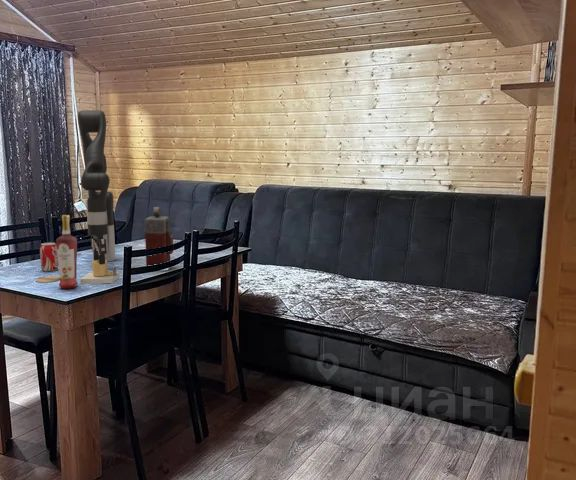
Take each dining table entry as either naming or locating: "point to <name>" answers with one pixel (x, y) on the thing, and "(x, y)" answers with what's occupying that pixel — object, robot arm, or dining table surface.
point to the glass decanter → (157, 237)
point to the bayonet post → (100, 277)
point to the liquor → (67, 256)
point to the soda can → (48, 257)
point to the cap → (100, 268)
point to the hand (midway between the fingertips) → (99, 262)
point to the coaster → (48, 279)
